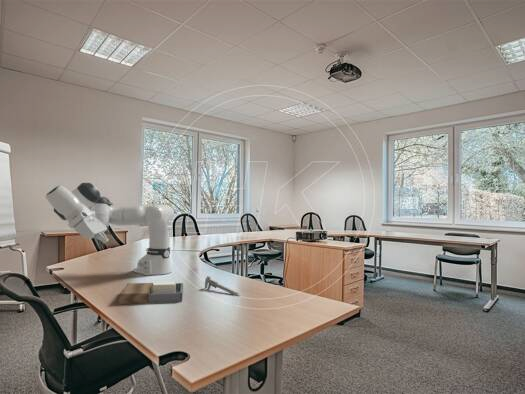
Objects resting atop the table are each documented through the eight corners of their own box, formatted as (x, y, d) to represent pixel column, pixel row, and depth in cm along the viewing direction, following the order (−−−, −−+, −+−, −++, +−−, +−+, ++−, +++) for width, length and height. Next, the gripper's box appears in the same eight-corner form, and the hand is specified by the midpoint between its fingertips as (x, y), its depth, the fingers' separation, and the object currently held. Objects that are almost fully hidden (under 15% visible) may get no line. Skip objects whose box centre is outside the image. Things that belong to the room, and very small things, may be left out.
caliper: (204, 288, 152) (204, 275, 152) (206, 288, 153) (206, 275, 153) (239, 296, 141) (239, 282, 141) (240, 296, 142) (240, 282, 142)
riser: (119, 304, 126) (119, 294, 126) (127, 292, 142) (127, 283, 142) (148, 302, 128) (148, 293, 128) (153, 291, 144) (153, 282, 144)
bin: (148, 302, 129) (149, 294, 129) (153, 291, 144) (153, 283, 144) (181, 301, 131) (182, 293, 131) (183, 290, 147) (183, 283, 147)
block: (153, 284, 134) (175, 284, 136) (154, 281, 139) (175, 281, 141) (152, 296, 134) (174, 295, 136) (154, 293, 139) (175, 292, 141)
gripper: (84, 221, 140) (107, 243, 142) (66, 225, 120) (93, 251, 122) (95, 211, 141) (118, 233, 143) (79, 214, 121) (106, 240, 123)
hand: (107, 242), depth 132 cm, fingers closed
